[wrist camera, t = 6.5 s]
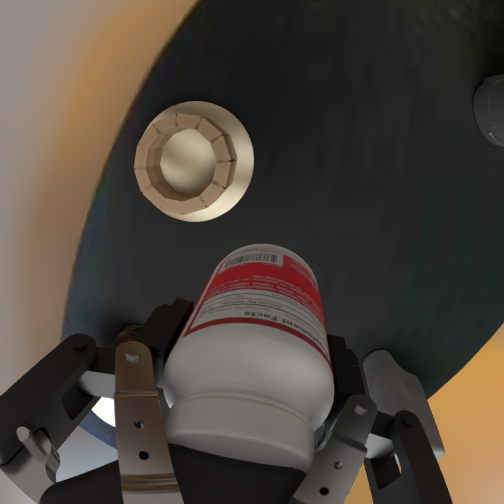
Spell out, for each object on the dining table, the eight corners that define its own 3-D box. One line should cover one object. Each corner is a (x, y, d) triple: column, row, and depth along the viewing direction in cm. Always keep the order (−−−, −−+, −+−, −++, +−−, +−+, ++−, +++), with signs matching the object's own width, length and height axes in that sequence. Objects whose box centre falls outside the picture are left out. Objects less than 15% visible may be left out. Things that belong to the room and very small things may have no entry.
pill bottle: (265, 348, 18) (241, 509, 8) (191, 289, 17) (102, 443, 7) (340, 291, 16) (382, 470, 6) (262, 216, 15) (210, 377, 5)
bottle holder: (151, 96, 31) (133, 91, 26) (267, 113, 30) (264, 109, 26) (133, 206, 36) (114, 214, 32) (238, 232, 36) (231, 245, 32)
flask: (352, 365, 42) (371, 471, 23) (380, 343, 40) (413, 450, 21) (397, 397, 44) (420, 483, 26) (421, 379, 42) (453, 465, 24)
